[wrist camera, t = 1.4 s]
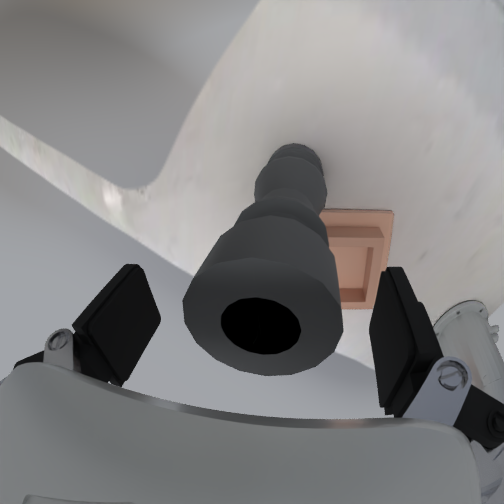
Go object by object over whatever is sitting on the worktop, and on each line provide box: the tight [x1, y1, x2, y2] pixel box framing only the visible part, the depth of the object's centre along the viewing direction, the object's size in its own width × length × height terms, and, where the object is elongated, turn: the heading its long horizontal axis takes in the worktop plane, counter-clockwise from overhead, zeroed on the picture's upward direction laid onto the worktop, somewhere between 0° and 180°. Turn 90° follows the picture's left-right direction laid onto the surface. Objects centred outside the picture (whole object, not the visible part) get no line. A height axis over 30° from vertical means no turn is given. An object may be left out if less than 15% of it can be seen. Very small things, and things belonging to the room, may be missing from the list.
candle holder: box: [183, 143, 343, 376], centre depth 20 cm, size 6×6×25 cm
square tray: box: [319, 209, 394, 309], centre depth 33 cm, size 14×14×4 cm
